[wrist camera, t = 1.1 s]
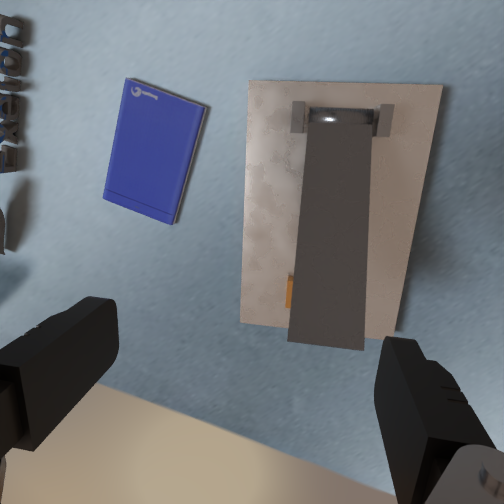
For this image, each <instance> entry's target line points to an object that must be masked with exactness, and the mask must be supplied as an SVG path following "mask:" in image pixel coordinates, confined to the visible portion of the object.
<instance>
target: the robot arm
mask: <svg viewBox="0 0 504 504" xmlns="http://www.w3.org/2000/svg"><path fill="white" fill-rule="evenodd" d="M118 350H119V334H118V319H117V306H116V303H115V301H114V300H113V299H107V298H99V297H92V296H88V297H85V298H84V299H82V300H81V301H79V302H78V303H77V304H75V305H74V306H72V307H71V308H69V309H68V310H66V311H63V312H61V313H58V314H56V315H53V316H50V317H49V318H47V319H46V320H44V321H43V322H41V323H40V324H38V325H37V326H36V328H32V329H31V330H29V331H28V332H26V333H25V334H24V336H20V337H18V338H17V339H15V340H14V341H12V342H11V343H9V344H8V345H6V346H5V347H3V348H2V349H0V504H1V499H2V492H3V486H4V479H5V472H6V459H5V454H6V453H7V452H8V451H9V450H10V449H11V448H12V447H13V448H18V449H23V450H28V451H35V449H36V448H37V447H38V446H39V445H40V444H41V443H42V442H43V441H44V440H45V438H46V437H47V436H48V435H49V434H50V433H51V432H52V431H53V430H54V429H55V427H56V426H57V425H58V424H59V423H60V422H61V421H62V420H63V418H64V417H65V416H66V415H67V414H68V413H69V412H70V411H71V410H72V408H74V406H75V405H76V404H77V403H78V402H79V401H80V400H81V399H82V398H83V397H84V395H85V394H86V393H87V392H88V391H89V390H90V389H91V388H92V387H93V386H94V384H95V383H96V382H97V381H98V380H99V379H100V378H101V377H102V376H103V374H104V373H105V372H106V371H107V370H108V369H109V368H110V367H111V366H112V364H113V363H114V361H115V359H116V357H117V354H118ZM460 390H461V389H460V387H459V386H458V384H457V382H456V381H455V379H454V377H453V376H452V374H451V373H449V372H448V371H447V370H446V369H445V368H443V367H442V366H441V365H440V364H439V363H438V362H436V361H432V360H426V358H425V356H424V354H423V352H422V351H421V349H420V347H419V345H418V343H417V341H416V340H414V339H406V338H399V337H391V336H386V337H385V338H384V341H383V345H382V350H381V355H380V360H379V365H378V370H377V375H376V380H375V387H374V404H375V409H376V414H377V418H378V422H379V426H380V430H381V435H382V439H383V443H384V447H385V451H386V455H387V460H388V464H389V468H390V472H391V476H392V481H393V485H394V489H395V493H396V497H397V501H398V504H504V452H501V451H499V450H497V449H496V447H495V445H494V444H493V442H492V440H491V439H490V437H489V435H488V434H487V432H486V430H485V429H484V427H483V425H482V424H481V422H480V420H479V419H478V417H477V415H476V414H475V412H474V411H473V409H472V407H471V406H470V405H468V401H467V399H466V397H465V396H464V394H463V392H461V391H460Z"/></svg>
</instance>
